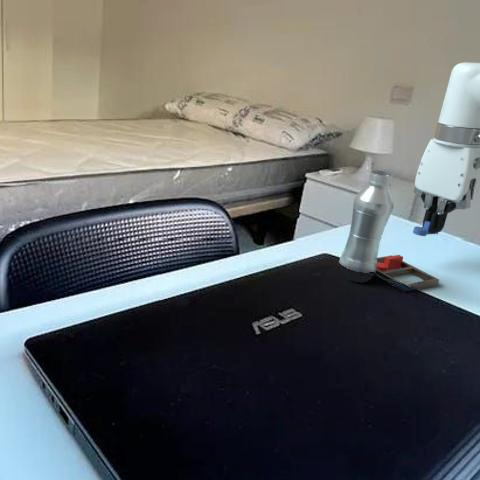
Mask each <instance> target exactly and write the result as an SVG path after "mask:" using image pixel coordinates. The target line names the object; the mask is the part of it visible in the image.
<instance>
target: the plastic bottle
mask: <svg viewBox="0 0 480 480" xmlns="http://www.w3.org/2000/svg"><path fill="white" fill-rule="evenodd" d="M393 178H394V174H393V173H392V172H388V171H385V170H377V169H373V170H370V172H369V175H368V178H367V180H366V182H367V183H368V184H367V185H366V186H364V187H363V188H362V189H361V190H360V191H359V192H358V193H357V194H356V196H355V197H354V199H353V204H352V214H351V223H350V230H349V232H348V236H347V239H346V243H345V246H344V249H343V251H342V253H341V255H340V257H339V260H338V262H339V263H340V264H341V265H342V266H344V267H346V268H347V269H350V270H353V271H356V272H363V273H369V272H374V273H375V272H376V267H377V258H378V255H379V249H380V244H381V239H382V236H383V235H384V231H385V228H386V226H387V224H388V222H389V219H390V218H391V215H392V212H393V210H394V208H395V207H394V199H393V196H392V194H391V192H390V187H391V186H392V185H393V183H392V181H393Z"/></svg>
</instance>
